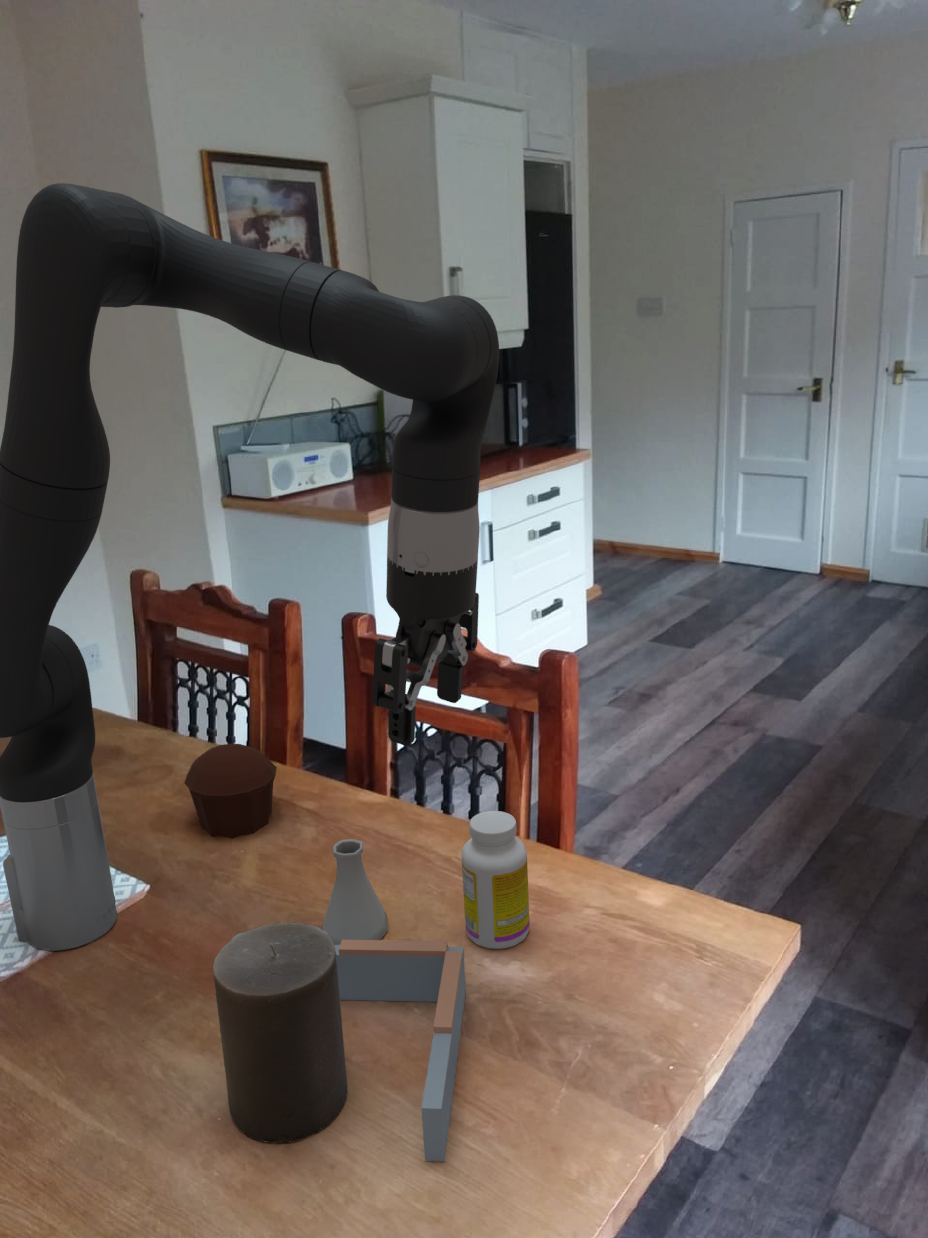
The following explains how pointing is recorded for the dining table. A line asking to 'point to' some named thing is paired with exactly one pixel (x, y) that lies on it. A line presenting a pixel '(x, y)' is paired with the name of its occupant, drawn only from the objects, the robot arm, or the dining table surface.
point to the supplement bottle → (495, 882)
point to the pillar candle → (281, 1031)
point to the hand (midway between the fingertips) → (425, 720)
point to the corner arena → (417, 978)
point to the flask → (353, 899)
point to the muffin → (232, 790)
